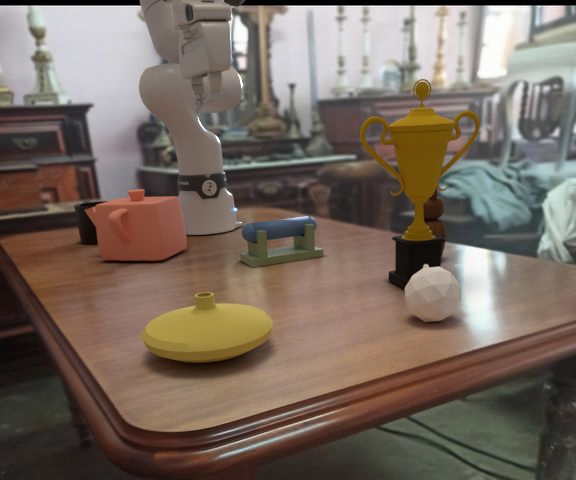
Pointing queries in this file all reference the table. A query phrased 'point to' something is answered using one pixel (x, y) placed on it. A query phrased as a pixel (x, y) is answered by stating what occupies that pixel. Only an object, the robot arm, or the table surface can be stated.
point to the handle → (278, 228)
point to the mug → (86, 223)
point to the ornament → (432, 294)
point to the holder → (281, 249)
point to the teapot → (139, 227)
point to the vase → (207, 331)
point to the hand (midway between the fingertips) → (207, 103)
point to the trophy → (418, 176)
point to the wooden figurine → (435, 217)
